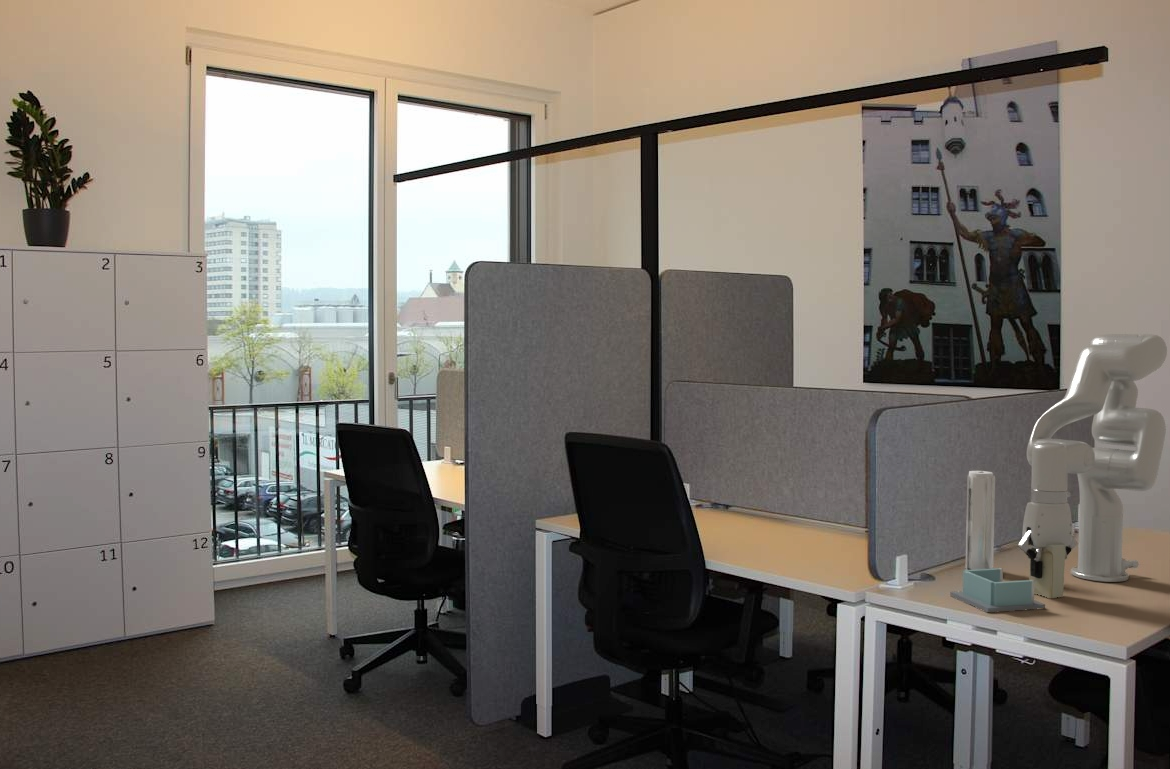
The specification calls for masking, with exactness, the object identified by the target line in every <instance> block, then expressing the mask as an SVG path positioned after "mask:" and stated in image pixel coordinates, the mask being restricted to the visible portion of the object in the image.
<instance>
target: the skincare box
mask: <svg viewBox="0 0 1170 769" xmlns="http://www.w3.org/2000/svg"><path fill="white" fill-rule="evenodd" d="M1065 548H1066V545H1065V544H1057V545H1047V547H1046V548H1043V551H1042V554H1041V558H1040V561H1042V578H1041V579H1038V578H1036V577H1033V576H1031V572H1030V571H1029V579H1028V580H1034V581H1035V585H1034V595H1037V594H1038V595H1037V596H1040V595H1042V596H1041V597H1043V596H1045V597H1044V598H1046V597H1047V598H1046V599H1058V598H1063V597H1064V588H1065V587H1064V582H1065V564H1066V563H1065V562H1066V560H1065ZM1036 550H1037V549H1036ZM1035 553H1036V551H1035ZM1030 560H1031V559H1030ZM1057 597H1058V598H1057Z"/></svg>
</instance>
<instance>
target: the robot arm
mask: <svg viewBox="0 0 1170 769" xmlns="http://www.w3.org/2000/svg"><path fill="white" fill-rule="evenodd" d="M1088 345H1089V346H1086V347H1084V348H1083V349H1082V350H1081V351H1080V353H1079V355H1078V356H1077V360H1076V362H1075V365H1074V369H1073V371H1072V375H1071V378H1070V380H1069V383H1068V386H1067V390H1066V392H1065V395H1064V397H1063V398H1062V399H1061V400H1059V401H1058V402H1057V403H1055V404H1054V405H1052V406H1051V407H1050V408H1048V409H1047V410H1046V411H1045V412H1044V413H1043V414H1042V415H1041V416H1040V417H1039V418H1038V419H1037V420H1036V422H1035V424H1034V426H1033V428H1032V431H1031V434H1030V437H1029V439H1028V443H1027V448H1026V460H1027V461H1028V464H1029V465H1030V466H1031V480H1030V482H1031V483H1030V485H1031V486H1030V487H1031V488H1030V502H1029V501H1028V502H1027V504H1026V507H1025V511H1024V515H1023V522H1022V536H1021V540H1020V541H1019V543H1018V544H1017V547H1018V548H1019V549H1020V550H1021V551H1022V552H1023V553H1024V554H1025V555H1026V556H1027V558H1028V559H1031V560H1030V562H1029V573H1030V572H1031V576H1033V577H1036V578H1038V579H1041V578H1042V561H1040V558H1041V554H1042V551H1043V548H1046V547H1047V545H1057V544H1065V545H1066V548H1065V561H1066V560H1067V559H1068V556H1069V554H1070V553H1071V552H1072V550H1073V549H1075V547H1077V545H1078V550H1077V552H1078V554H1077V556H1078V557H1077V566H1073V567H1071V569H1070V574H1071V575H1072V576H1074V577H1077V578H1078V579H1083V580H1088V581H1095V582H1105V583H1119V582H1126V581H1128V580H1129V576H1130V575H1129V573H1128V572H1127V571H1126V570H1128V569H1137V568H1138V567H1139V565H1140V564H1139V561H1138V560H1137V559H1130V560H1126V558H1123V537H1124V536H1123V530H1124V527H1123V526H1124V505H1123V501H1122V500H1121V498H1120V496H1119V495H1118V493H1117V492H1116V490H1115V489H1117V490H1126V491H1134V492H1147V491H1150V490H1151V489H1152V488H1153V487H1154V485H1155V483H1156V480H1157V477H1158V475H1159V474H1158V473H1159V469H1160V465H1161V459H1162V454H1163V450H1164V444H1165V440H1166V430H1167V429H1166V420H1165V418H1164V416H1163V414H1162V413H1161V412H1159V411H1158V410H1156V409H1152V408H1148V407H1147V408H1144V407H1137V406H1136V405H1137V400H1138V395H1139V389H1138V386H1137V385H1136V383H1135V381H1141V380H1142V379H1144V378H1146V377H1148V376H1149V375H1151V374H1152V373H1154V372H1156V371H1157V370H1159V369H1160V368H1161V367H1162V366H1163V364H1164V363H1165V361H1166V359H1167V355H1168V347H1167V344H1166V341H1165V340H1164V339H1163V338H1162V337H1161V336H1159V335H1158V334H1151V333H1150V334H1148V333H1145V334H1144V333H1143V334H1141V333H1140V334H1137V333H1134V334H1133V333H1131V334H1130V333H1129V334H1128V333H1109V334H1108V333H1107V334H1101V335H1097V336H1095V337H1093V338H1092V339H1091V340H1090V342H1089V344H1088ZM1092 416H1093V418H1092V423H1091V435H1092V438H1093V440H1094V441H1096V442H1098V443H1101V444H1104V445H1111V446H1121V447H1130V448H1131V447H1132V448H1135V449H1136V450H1131V449H1130V450H1129V449H1119V448H1109V447H1092V446H1091V445H1090V444H1088V443H1087V442H1084V441H1079V440H1072V439H1071V440H1070V439H1062V438H1061V439H1060V438H1052V437H1053V436H1054V435H1055V433H1056V432H1057V431H1058V430H1060V429H1061V428H1063V427H1065V426H1066V425H1069V424H1071V423H1074V422H1077V421H1081V420H1083V419H1087V418H1089V417H1092ZM1069 474H1076V475H1077V480H1078V488H1079V490H1078V491H1079V513H1078V514H1079V515H1078V516H1079V517H1078V518H1079V519H1078V520H1079V521H1078V542H1077V540H1076V539H1075V537H1074V536H1073V522H1072V513H1071V507H1070V504H1069V503H1068V498H1071V497H1072V496H1071V495H1072V494H1071V492H1070V491H1068V488H1069V487H1068V484H1069ZM1029 545H1030V546H1029ZM1036 549H1037V550H1036ZM1035 551H1036V553H1035Z"/></svg>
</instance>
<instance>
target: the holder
mask: <svg viewBox="0 0 1170 769" xmlns="http://www.w3.org/2000/svg"><path fill="white" fill-rule="evenodd" d="M1003 575H1004V568H1000V567H997V568H994V567H993V569H977V570H966V569H963V571H962V590H958V591H957V590H955V591H954V590H953V591H950V593H949V594H950V597H951V596H952V598H954V597H955V598H954V599H956V598H957V599H956V600H958V599H959V600H958V601H960V600H961V601H960V602H962V601H964V602H963V603H965V602H966V603H965V604H967V603H968V604H967V605H969V604H971V605H973V606H972V607H974V606H975V607H974V608H976V607H977V608H976V609H978V608H979V609H978V610H980V609H982V610H984V611H983V612H985V611H986V612H985V613H987V612H995V613H998V612H997V611H1009V612H1016V611H1015V610H1023V611H1026V610H1025V609H1037V608H1045V609H1046V604H1045V603H1043V602H1041V601H1039V600H1035V594H1034V585H1035V581H1034V580H1029V579H1026V580H1023V579H1022V580H1007V581H1003V580H1004V579H1003V577H1004V576H1003ZM971 605H970V606H971ZM982 610H981V611H982ZM1037 610H1038V609H1037Z"/></svg>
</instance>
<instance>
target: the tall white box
mask: <svg viewBox="0 0 1170 769" xmlns="http://www.w3.org/2000/svg"><path fill="white" fill-rule="evenodd" d="M966 480H967V482H966V484H967V488H966V489H967V490H966V523H965V524H966V526H965V527H966V529H965V532H966V533H965V568H966V569H965V570H977V569H994V551H995V550H994V549H995V548H994V547H995V545H994V542H995V541H994V540H995V510H996V509H995V508H996V507H995V503H996V499H995V498H996V496H995V495H996V475H994V473H993V472H992V471H985V470H969V471H968V474H967V477H966Z"/></svg>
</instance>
